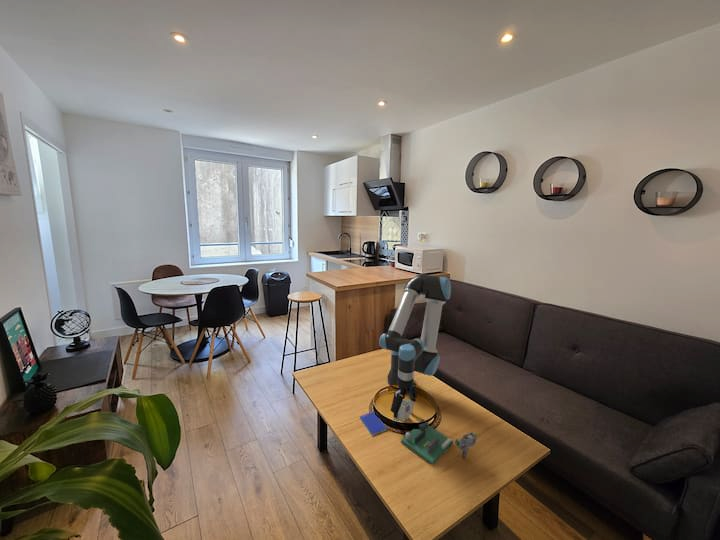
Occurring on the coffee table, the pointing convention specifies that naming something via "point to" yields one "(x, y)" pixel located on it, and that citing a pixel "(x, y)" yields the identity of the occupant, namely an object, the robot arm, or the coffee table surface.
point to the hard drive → (373, 423)
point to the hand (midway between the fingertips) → (403, 417)
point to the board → (429, 436)
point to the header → (432, 444)
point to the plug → (404, 410)
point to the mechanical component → (466, 443)
